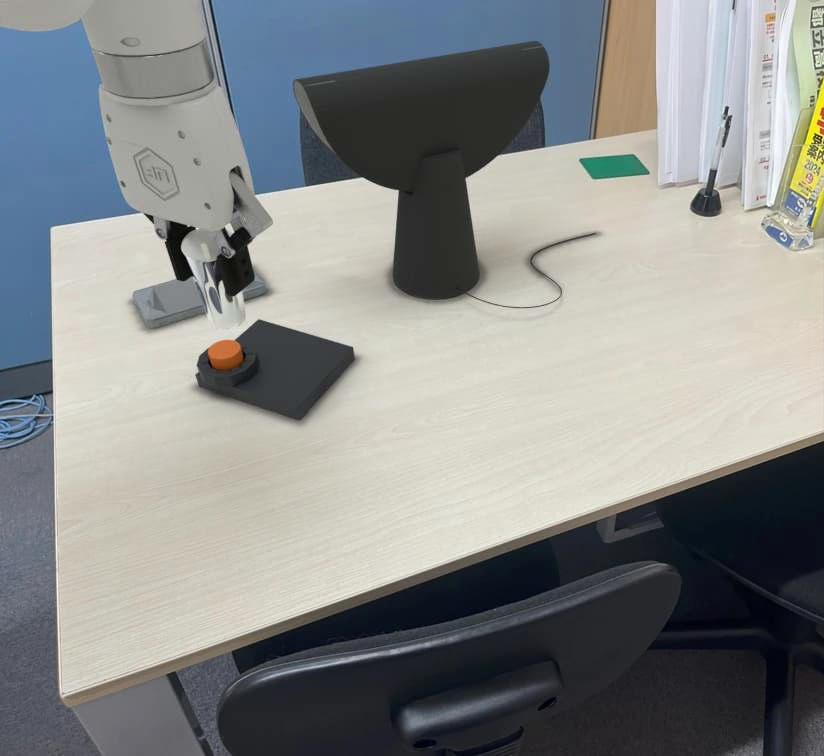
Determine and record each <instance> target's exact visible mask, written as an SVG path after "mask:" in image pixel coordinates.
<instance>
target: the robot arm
mask: <svg viewBox="0 0 824 756" xmlns="http://www.w3.org/2000/svg"><path fill="white" fill-rule="evenodd" d="M80 19H81V21H82V24H83V25H82V26H83V28H84V30H85V34H86V36H87V40H88V42H89V45H90V50H91V52H92V55H93V58H94V61H95V64H96V67H97V70H98V73H99V76H100V79H101V82H102V83H100V84H99V86H98V98H99V99H98V100H99V107H100V114H101V115H100V116H101V120H102V126H103V130H104V135H105V140H106V143H107V147H108V151H109V154H110V159H111V162H112V166H113V168H114V171H115V175H116V178H117V183H118V184H119V187H120V191H121V193H122V196H123V198H124V200H125V202H126V203H127V205H128V206H130V208H132V209H134V210H136V211H138V212H140V213H142V214H143V215H144V216H145V217H146V218H147V219H148V221H150V222H151V223H152V224H153V226H154V232H155V234H156V237H158V238H159V239H160V240H162V241H164V245H165V248H166V252H167V255H168V258H169V261H170V263H171V267H172V270H173V272H174V276H175V279H177V280H179V281H183V282H184V281H186V280H188V279H189V278H190V277H192V274H191V272H190V269H189V267H188V264H187V262H186V259H185V257H184V255H183V252H182V250H181V244H182V241H183V239H184V238H185V236H186V235H187V234H188V233H190V232H191V231H193V230H197V229H204V230H209V231H211V233H212V235H213V237H214V239H215V242H216V244H217V246H218V248H219V250H220V252H221V254H219V255H218V256H217V263H218V267H219V270H220V274H221V278H222V281H223V285H224V289H225V292H226V294H227V295H229V296H233V297H234V296H236V295H237V294H238V293H240V292H241V291H242V290H243V289H245V288H246V287H247V286H248V285H250V284H251V283H252V282H253V281H254V279H255V275H254V271H253V268H254V267H253V263H252V259H251V254H250V250H249V246H248V245H250V244H251V243H252V242H253V240H254V239H255V238H256V237H257V236H259V235H260V234H262V233H263V232H264V231H266V230H267V229H269V228H270V227H272V226H273V224H274V220H273V218H272V216H271V215H270V214H269V213H268V211H267V210H266V209H265V207H264V206H263V205H262V204H261V202H260V201H259V200H258V198H257V197H256V195H255V187H254V182H253V177H252V172H251V169H250V165H249V161H248V157H247V153H246V150H245V146H244V144H243V143H244V142H243V141H242V138H241V134H240V131H239V128H238V126H237V123H236V120H235V116H234V114H233V112H232V109H231V107H230V104H229V101H228V100H227V97H226V95H225V93H224V90H223V88H222V87H221V85H217V80H216V76H215V71H214V68H213V63H212V59H211V53H210V49H209V45H208V42H207V37H206V33H205V30H204V25H203V22H202V21H203V19H202V15H201V12H200V8H199V3H198V0H0V28H5V29H10V30H16V31H21V32H35V33H37V32H38V33H39V32H52V31H55V30H56V31H57V30H59V29H65V28H67V27H68V26H70V25H72V24H74V23H77V22H78V21H80ZM229 224H230V226H231V228H232V230H233V232H232V233H233V234H232V235H231V236H230V237H229V235H228V233H227V230H228V229H227V228H226V226H227V225H229ZM226 229H227V230H226Z"/></svg>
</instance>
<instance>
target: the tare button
mask: <svg viewBox="0 0 824 756" xmlns="http://www.w3.org/2000/svg"><path fill="white" fill-rule="evenodd" d="M234 340H235V339H234ZM234 340H233V339H222V340H218V341H216V342H214V343H212V344H211V345H210V346H209V347H210V348H209V347H208V348H209V349H208V348H207V349H208V355H209V358H210V361H211V364H212V366H213V367H214V368H215V369H217V370H230V369H232V368H235V367H238V366H239V365H240V364H241V363H242V362H243V359H244V357H243V353H242V350H241V346H240V344H239V343H238V342H236V341H234Z"/></svg>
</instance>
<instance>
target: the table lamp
mask: <svg viewBox="0 0 824 756" xmlns="http://www.w3.org/2000/svg"><path fill="white" fill-rule="evenodd" d="M549 74H550V57H549V54H548V51H547V49H546V48H545V46H544V44H542V43H541V42H540V41H537V40H531V41H525V42H524V41H523V42H517V43H513V44H511V43H510V44H505V45H499V46H493V47H487V48H480V49H473V50H468V51H462V52H461V51H460V52H456V53H450V54H443V55H438V56H430V57H424V58H420V59H412V60H405V61H400V62H394V63H389V64H381V65H374V66H369V67H364V68H363V67H361V68H357V69H351V70H343V71H338V72H331V73H326V74H320V75H313V76H307V77H302V78H301V77H300V78H295V79H294V80H293V82H292V91H293V95H294V98H295V100H296V103H297V105H298V107H299V109H300V111H301V113H302V115H303V117H304V119H305V120H306V122H307V124H308V125H309V127H310V128H311V129H312V131H313V133H314V134H315V135H316V136H317V138H318V139H319V140H320V141H321V142H322V144H324V145H325V147H327V148H328V149H329V150H330V151H331V152H332V153H333V154H334V155H335V156H336V157H338V159H340V161H342V163H343V164H345V166H347V167H348V168H349V169H350V170H351V171H353V172H354V173H355V174H357V175H358V176H360V177H361V178H363V179H364V180H367V181H368V182H370V183H373V184H374V185H377V186H380V187H382V188H386V189H389V190H393V191H398V194H397V205H396V206H397V209H396V222H395V233H394V235H395V236H394V249H393V260H392V261H393V262H392V263H393V264H392V276H391V277H392V281H393V283H394V285H395V286H396V287H397V288H398V289H400V290H401V291H402V292H404V293H405V294H408V295H410V296H413V297H415V298H421V299H428V300H443V299H449V298H454V297H457V296H458V297H459V296H460V295H463V294H465V295H468V297H471V298H474V299H475V300H478V301H481V302H483V303H486V304H489V305H493V306H497V307H503V308H510V309H535V308H541V307H544V306H545V307H546V306H548V305H550V304H553V303H555V302H557V301H559V299H560V298H561V297H562V295H563V290H562V288H561V286H560V285H559V283H558V282H556V281H555V280H554V279H552V278H551V277H550V276H548V275H547V274H545V273H543V272H542V271H541V270H540V269H538V267H536V266H535V265H534V263H533V260H532V259H533V257H534V256H535V255H536V254H538V253H539V252H542V251H543V250H545V249H548V248H550V247H553V246H555V245H559V244H562V243H565V242H569V241H572V240H576V239H580V238H585V237H588V236H592V235H596V232H593V233H589V234H584V235H581V236H580V235H579V236H577V237H576V236H575V237H572V238H569V239H565V240H562V241H558V242H555V243H552V244H550V245H548V246H547V245H546V246H545V247H542V248H541V249H539V250H537V251H536V252H534V253H533V254H532V255H531V257H530V265H531V266H532V267H533V268H534V269H535V270H536V271H538V272H539V274H541V275H543V276H545V277H546V278H547V279H549V280H550V281H551V282H553V283H554V284H555V285H556V286H557V287H558V289H559V290H560V294H559V296H558V297H557V298H556V299H554V300H552V301H551V302H547V303H545V304H541V305H540V304H539V305H535V306H510V305H502V304H497V303H494V302H489V301H486V300H485V299H481V298H479V297H476V296H473V295H472V294H469V293H468V291H470V290H472V289H473V288H474V287H475V286H476V285H477V284H478V282H479V280H480V276H481V275H480V274H481V273H480V268H479V267H480V266H479V261H478V254H477V246H476V239H475V233H474V226H473V225H474V224H473V220H472V219H473V218H472V212H471V205H470V199H469V191H468V185H467V179H468V178H469V177H471V176H473V175H474V174H476V173H477V172H479V171H480V170H482V169H483V168H485V167H486V166H488V165H489V164H490V163H491V162H492V161H494V160H495V159H496V158H497V157H498V156H500V154H501V153H503V152H504V150H506V148H507V147H508V146H509V145H510V144H511V143H512V142H513V141H514V139H515V138H516V137H517V136H518V135H519V133H521V131H522V130H523V128H524V127H525V125H527V122H528V121H529V119H530V118H531V116H532V114H533V112H534V111H535V109H536V107H537V105H538V104H539V101H540V99H541V96H542V94H543V92H544V89H545V87H546V84H547V81H548V78H549Z"/></svg>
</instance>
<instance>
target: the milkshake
mask: <svg viewBox="0 0 824 756" xmlns="http://www.w3.org/2000/svg"><path fill="white" fill-rule="evenodd" d="M226 230H227V233H228V235H229V237H230V236H231V235H232V234H233V233H234V232H232V231H231V230H228V229H227V228H226ZM181 250H182V252H183V255H184V257H185V259H186V262H187V264H188V267H189V269H190V272H191V274H192V276H193V279H194V282H195V284H196V287H197V290H198V293H199V295H200V298H201V301H202V303H203V306H204V309H205V311H206V312H205V314H206V316H207V319H208V322H209V324H210V325H212V326H213V327H214V328H215V329H219V330H230V329H234V328H238V327H240V326H241V325H242V324H244V322H246V319H247V317H246V316H247V315H246V314H247V313H246V305H245V300H244V297H243V290H242V291H241V292H240V293H238V294H237V295H236V296H234V297H233V296H229V295H227V294H226V292H225V289H224V285H223V281H222V278H221V274H220V270H219V267H218V263H217V256H218V255H219V254H221V252H220V250H219V248H218V246H217V244H216V242H215V239H214V237H213V235H212V233H211V231H209V230H204V229H200V228H196V230H193V231H191V232H190V233H188V234H187V235H186V236H185V238H184V239H183V241H182V244H181Z"/></svg>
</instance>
